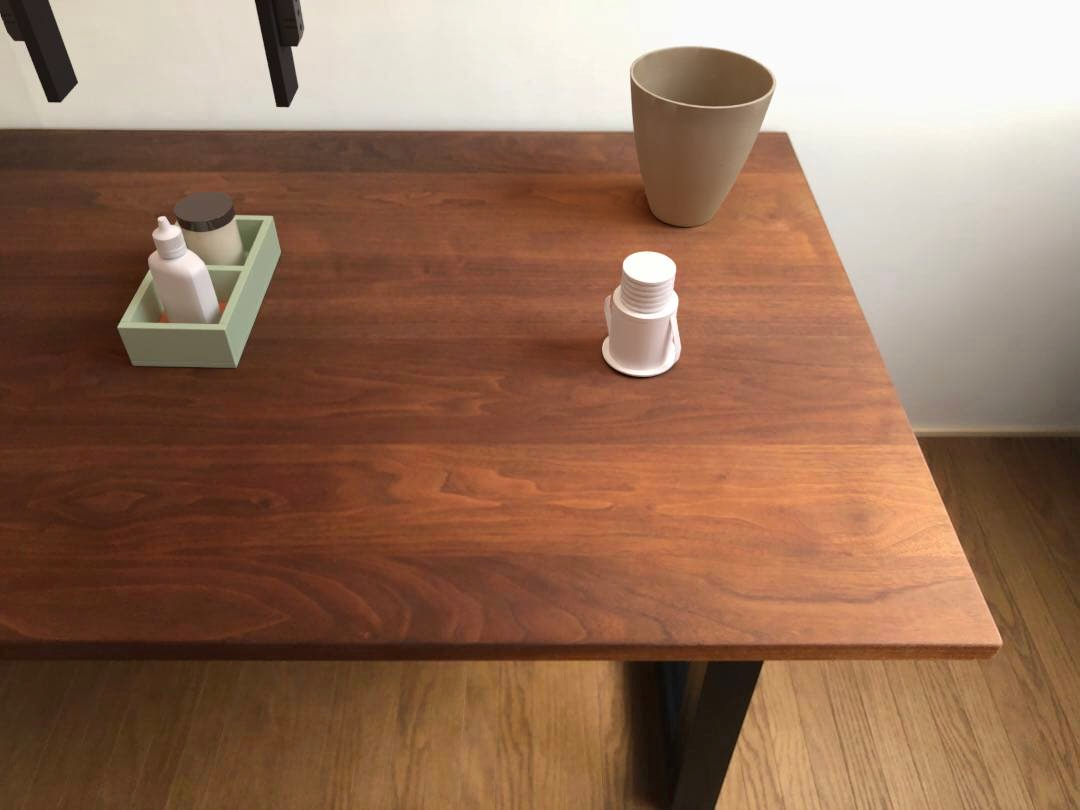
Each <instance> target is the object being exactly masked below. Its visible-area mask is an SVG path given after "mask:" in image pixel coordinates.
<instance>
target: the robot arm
mask: <svg viewBox="0 0 1080 810" xmlns="http://www.w3.org/2000/svg"><path fill="white" fill-rule="evenodd" d="M254 4H255V9H256V14H257V20H258V24H259V29H260V34H261V38H262V39H261V40H262V44H263V49H264V54H265V58H266V63H267V69H268V74H269V77H270V78H269V79H270V82H271V87H272V92H273V97H274V102H275V107H276V108H290V107H291V105H292V103H293V100H294V98H295V96H296V94H297V91H298V89H299V82H298V77H297V71H296V66H295V60H294V54H293V50H292V47H293V48H295V47H296V48H298V46H299V44H300V43H301V41H302V39H303V36H304V32H305V22H304V19H303V12H302V6H301V5H302V4H301V0H254ZM0 18H1V20H2V22H3V23H2V24H3V26H4V28H5V31H6V33H7V34H8V36H9V37H10V38H11V40H12V41H14V42H24V45H25V47H26V49H27V52H28V54H29V58H30V59H31V63H32V65H33V67H34V70H35V72H36V75H37V78H38V80H39V83H40V85H41V88H42V90H43V93H44V95H45V98H46V100H47V103H50V104H51V103H52V104H53V103H55V104H58V103H59V104H60V103H62V102H63V101H64V100H65V99H66V97H68V95H69V94H70V93H71V92H72V91H73V90H74V89H75V87H76V86H77V85H78V84H79V81H78V78H77V76H76V73H75V70H74V67H73V64H72V62H71V59H70V58H71V57H70V56H69V53H68V50H67V48H66V45H65V42H64V39H63V37H62V36H63V35H62V33H61V31H60V27H59V25H58V23H57V19H56V17H55V14H54V11H53V9H52V6H51V3H50V0H0Z"/></svg>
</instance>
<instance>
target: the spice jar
mask: <svg viewBox="0 0 1080 810" xmlns="http://www.w3.org/2000/svg"><path fill="white" fill-rule="evenodd" d="M173 209H174V210H173V211H174V215H175V218H176V221H177V222H178V224H179V225H180V228H181V231H182V234H183V237H184V240H185V243H186V247H187V249H189V250H190V251H192V252H193V253H195V254H196V255H197V256H198V257H199V258H200V259H201V260H202V261H203V262H204V263H205V265H225V266H244V264H245V262H246V256H245V252H244V248H243V244H242V241H241V237H240V233H239V229H238V225H237V221H236V218H235V215H236V210H235V206H234V202H233V199H232V198H231V197H230V196H229V195H228V194H227V193H223V192H221V191H200V192H195V193H192V194H190V195H187V196H185V197H183V198H182V199H180V200H179V201H178V202H177V203H176V204H175V206H174V208H173Z"/></svg>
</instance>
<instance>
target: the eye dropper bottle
mask: <svg viewBox="0 0 1080 810" xmlns="http://www.w3.org/2000/svg"><path fill="white" fill-rule="evenodd" d="M157 225H158V227H156V228H155V229H154V230H153V231H152V233H151V237H152V239H153V240H152V241H153V242H154V245H155V248H156V250H155V251H153V252H152V253H151V254H150V255H148V258H147V263H148V268H149V269H150V271H151V274H152V277H153V280H154V282H155V285H156V288H157V291H158V294H159V297H160V299H161V302H162V305H163V308H164V310H165V313H166V316H167V319H168V321H169V323H186V324H219V322H220V320H221V317H222V314H221V311H220V307H219V304H218V301H217V297H216V294H215V291H214V288H213V285H212V281H211V278H210V275H209V272H208V269H207V267H206V265H205V263H204V262H203V261H202V260H201V259H200V258H199V257H198V256H197V255H196V254H195V253H193V252H192V251H190V250H189V249H187V247H186V244H185V241H184V238H183V234H182V231H181V229H180V228H179V227H178V226H175V225H174V224H171V222H169V220H168V218H167V217H166V215H165V216H164V215H162V216H159V217H157Z"/></svg>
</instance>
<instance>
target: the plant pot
mask: <svg viewBox="0 0 1080 810" xmlns="http://www.w3.org/2000/svg"><path fill="white" fill-rule="evenodd" d="M629 80H630V82H629V83H630V101H631V116H632V117H631V119H632V126H633V135H634V142H635V143H634V144H635V150H636V155H637V161H638V166H639V170H640V176H641V180H642V184H643V188H644V191H645V196H646V199H647V202H648V205H649V209H650V211H651V214H652V215H653V216H654V217H655V218H656V219H657V220H660V221H661V222H663V223H666V224H669V225H671V226H675V227H683V228H684V227H686V228H690V227H692V228H693V227H699V226H702V225H704V224H707V223H708V222H710V221H711V220H712V219H714V217H715V215H716V213H717V212H718V210H719V209H720V208H721V206H722V205H723V203H724V201H725V200H726V198H727V196H728V195H729V193H730V191H731V190H732V188H733V186H734V184H735V183H736V181H737V179H738V178H739V175H740V174H741V171H742V169H743V168H744V166H745V164H746V161H747V160H748V158H749V155H750V153H751V151H752V149H753V147H754V145H755V143H756V140H757V138H758V135H759V133H760V131H761V128H762V126H763V124H764V120H765V118H766V115H767V112H768V110H769V107H770V104H771V102H772V98H773V95H774V93H775V91H776V87H777V78H776V76H775V74H774V73H773V72H772V70H771V69H770V68H769V67H768V66H766V65H764V64H763V63H762V62H761V61H759V60H756V59H755V58H753V57H751V56H748V55H745V54H743V53H740V52H737V51H733V50H730V49H725V48H720V47H711V46H703V45H678V46H670V47H664V48H659V49H658V48H657V49H655V50H652V51H649V52H646V53H644V54H642V55H641V56H638V57H637V58H636V59H635V60H634V61H633V62H632V63H631V65H630V67H629Z"/></svg>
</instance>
